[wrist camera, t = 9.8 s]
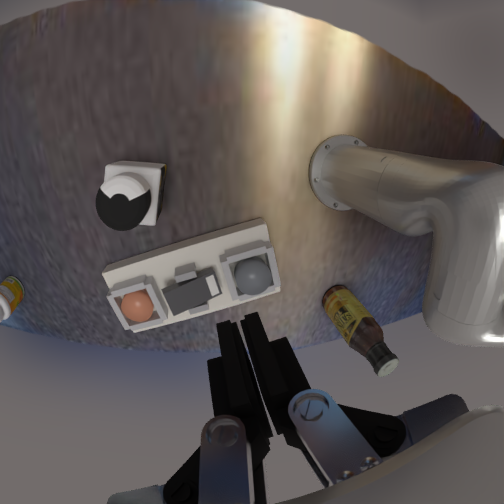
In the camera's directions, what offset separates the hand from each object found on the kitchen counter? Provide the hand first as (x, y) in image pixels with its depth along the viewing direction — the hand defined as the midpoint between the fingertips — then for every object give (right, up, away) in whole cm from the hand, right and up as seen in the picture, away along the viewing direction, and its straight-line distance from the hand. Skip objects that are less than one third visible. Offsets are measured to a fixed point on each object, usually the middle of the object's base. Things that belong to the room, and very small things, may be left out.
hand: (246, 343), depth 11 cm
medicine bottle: (-16, +13, +25) cm, 33 cm away
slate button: (0, +1, +29) cm, 29 cm away
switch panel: (-9, 0, +32) cm, 34 cm away
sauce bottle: (+16, -5, +41) cm, 44 cm away
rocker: (-8, -2, +28) cm, 29 cm away
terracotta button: (-17, -4, +29) cm, 34 cm away
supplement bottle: (-46, -3, +26) cm, 53 cm away
